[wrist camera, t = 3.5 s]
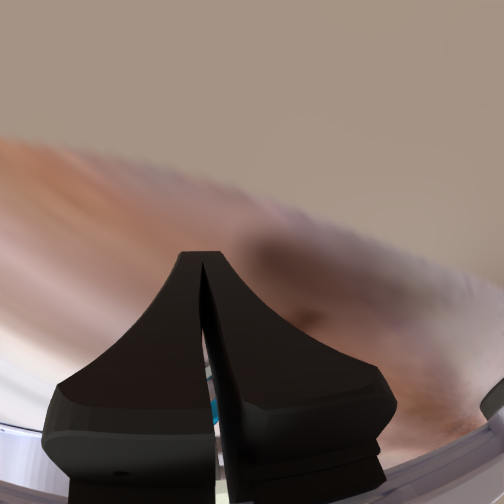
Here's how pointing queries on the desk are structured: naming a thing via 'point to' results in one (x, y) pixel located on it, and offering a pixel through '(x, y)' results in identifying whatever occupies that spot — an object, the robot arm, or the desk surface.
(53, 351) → the desk surface
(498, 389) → the smart speaker
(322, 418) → the robot arm
